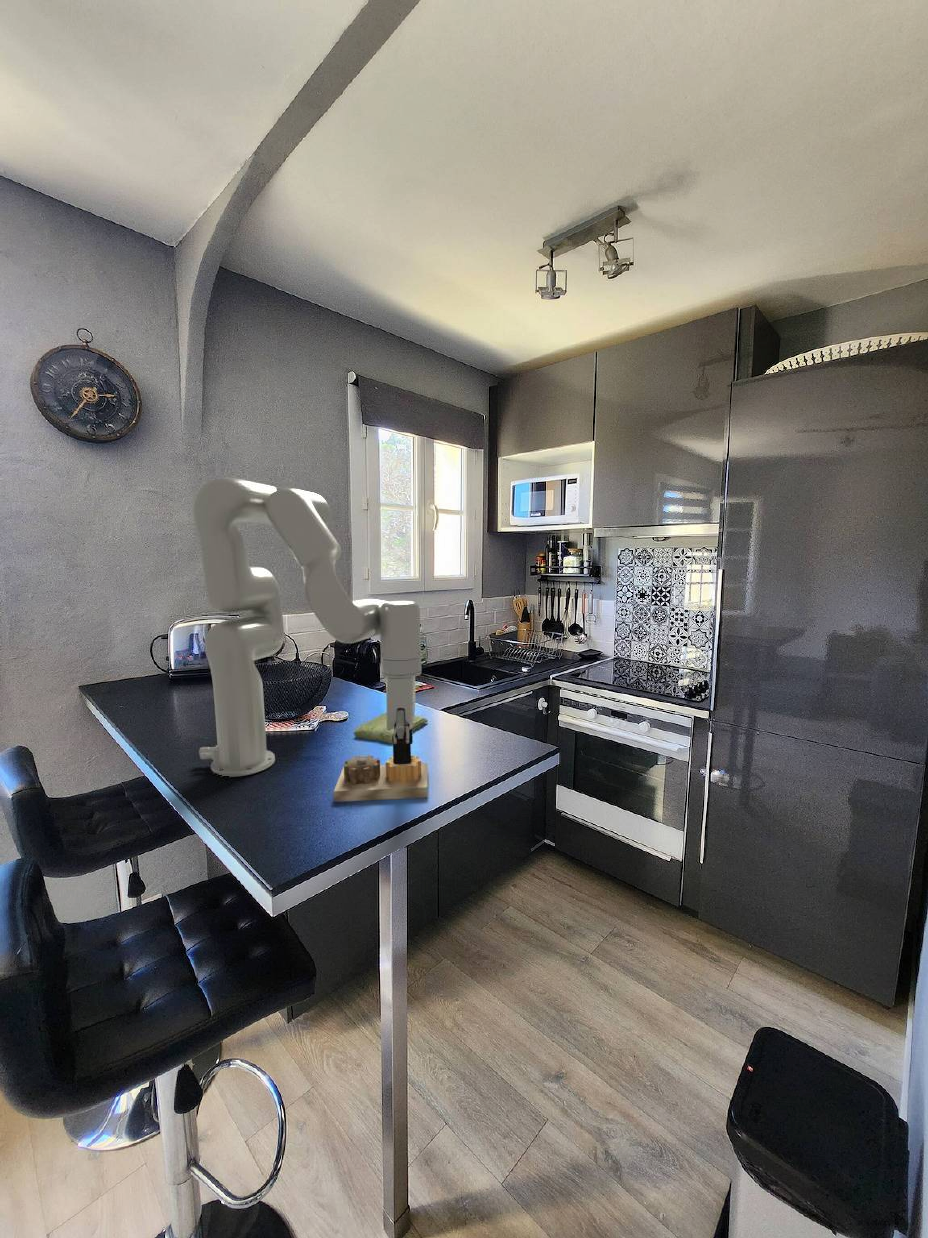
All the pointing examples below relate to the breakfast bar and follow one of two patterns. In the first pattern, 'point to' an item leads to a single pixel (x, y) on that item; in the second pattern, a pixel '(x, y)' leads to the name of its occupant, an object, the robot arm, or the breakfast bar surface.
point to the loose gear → (403, 770)
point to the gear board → (376, 782)
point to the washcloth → (383, 728)
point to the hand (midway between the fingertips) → (403, 753)
